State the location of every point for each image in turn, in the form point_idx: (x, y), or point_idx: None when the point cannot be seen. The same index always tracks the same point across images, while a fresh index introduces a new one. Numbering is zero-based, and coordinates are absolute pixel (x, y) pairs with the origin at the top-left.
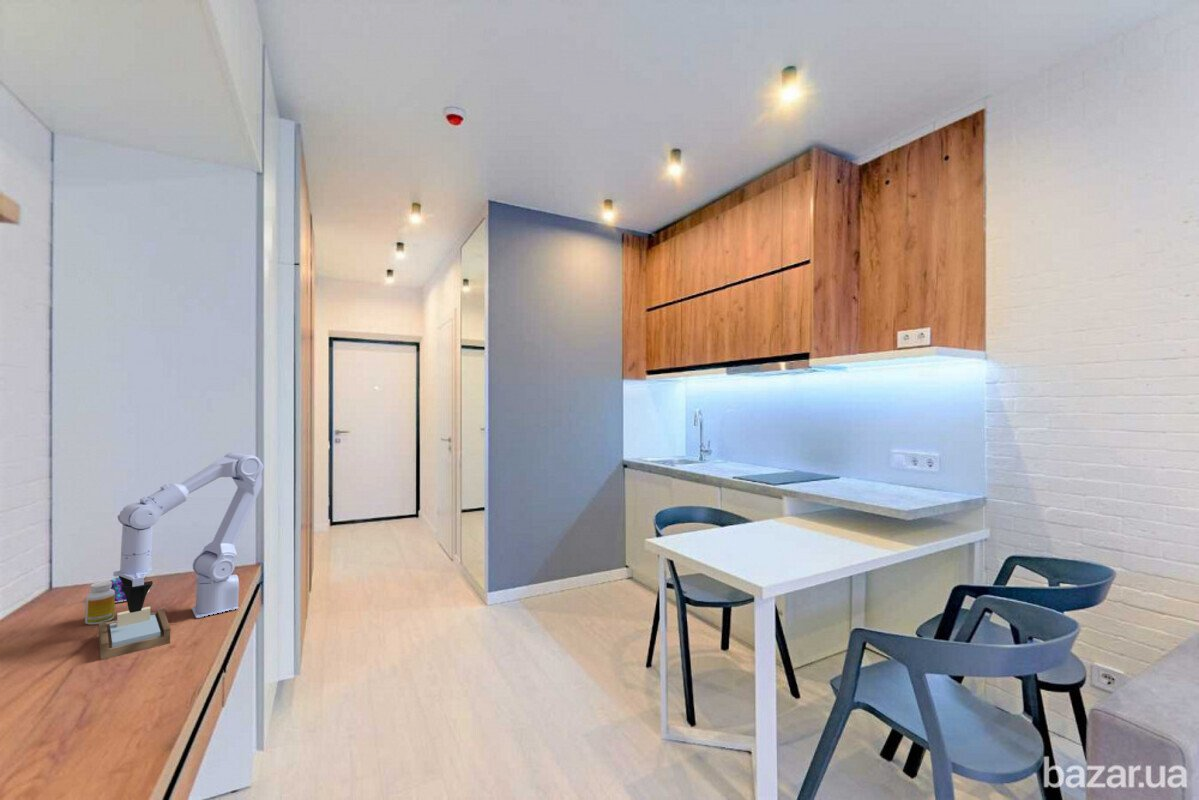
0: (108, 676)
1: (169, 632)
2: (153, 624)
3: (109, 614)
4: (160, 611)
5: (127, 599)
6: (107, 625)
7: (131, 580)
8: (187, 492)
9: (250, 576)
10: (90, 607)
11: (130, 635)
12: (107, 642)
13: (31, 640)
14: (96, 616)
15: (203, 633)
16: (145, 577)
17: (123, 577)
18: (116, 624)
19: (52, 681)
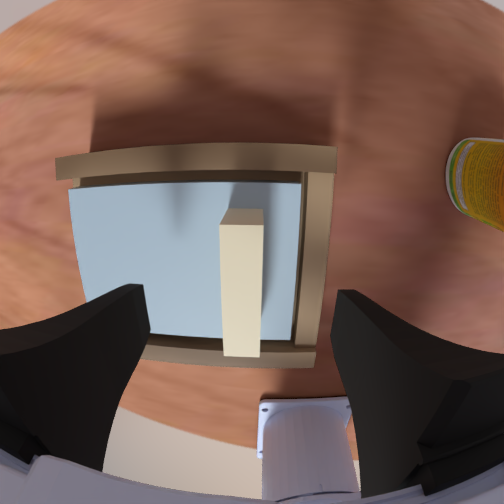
0: (2, 181)
1: None
2: (171, 322)
3: (462, 203)
4: (291, 359)
5: (52, 318)
6: (307, 175)
7: (390, 417)
8: None
9: None
10: (499, 149)
11: (100, 246)
12: (61, 175)
13: (420, 5)
14: (464, 163)
15: (139, 386)
16: (361, 475)
17: (434, 408)
18: (272, 208)
19: (42, 64)
